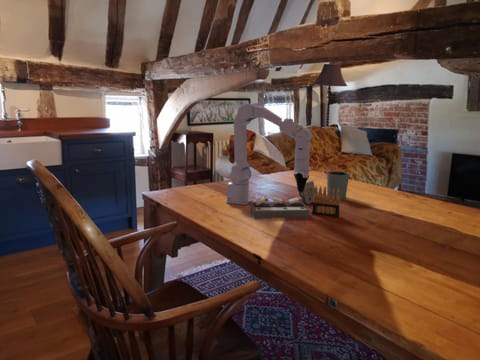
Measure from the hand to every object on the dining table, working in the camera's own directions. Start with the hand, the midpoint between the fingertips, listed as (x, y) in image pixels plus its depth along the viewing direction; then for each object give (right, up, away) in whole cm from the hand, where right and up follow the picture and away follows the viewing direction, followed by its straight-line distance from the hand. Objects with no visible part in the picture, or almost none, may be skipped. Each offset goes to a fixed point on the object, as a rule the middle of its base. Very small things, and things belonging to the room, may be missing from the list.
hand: (300, 191), depth 150 cm
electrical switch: (+6, -6, +17) cm, 18 cm away
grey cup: (+21, -4, +24) cm, 32 cm away
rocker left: (-16, -4, 0) cm, 16 cm away
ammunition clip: (+10, -10, -2) cm, 14 cm away
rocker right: (-2, -4, +1) cm, 4 cm away
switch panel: (-9, -9, 0) cm, 13 cm away
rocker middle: (-9, -4, 0) cm, 10 cm away
